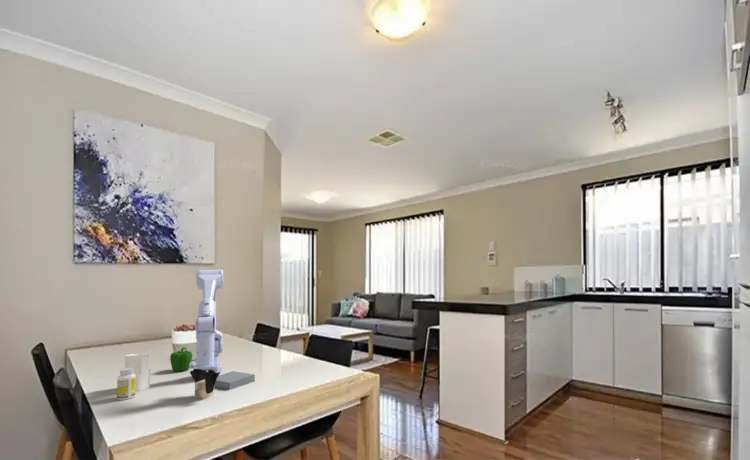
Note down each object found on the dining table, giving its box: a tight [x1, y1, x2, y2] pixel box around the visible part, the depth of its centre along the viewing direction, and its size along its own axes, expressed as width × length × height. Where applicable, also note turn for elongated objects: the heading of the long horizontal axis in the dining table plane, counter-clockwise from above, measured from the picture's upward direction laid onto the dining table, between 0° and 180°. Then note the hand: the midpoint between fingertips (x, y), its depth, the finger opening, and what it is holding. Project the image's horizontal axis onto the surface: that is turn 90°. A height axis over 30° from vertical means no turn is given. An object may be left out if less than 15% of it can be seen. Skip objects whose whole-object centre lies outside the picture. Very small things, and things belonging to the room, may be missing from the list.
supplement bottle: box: [116, 367, 136, 401], centre depth 139 cm, size 5×5×10 cm
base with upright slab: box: [124, 353, 151, 393], centre depth 150 cm, size 9×9×12 cm
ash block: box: [194, 380, 216, 400], centre depth 138 cm, size 4×4×5 cm
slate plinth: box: [215, 370, 256, 390], centre depth 153 cm, size 12×12×2 cm
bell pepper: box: [169, 346, 193, 372], centre depth 174 cm, size 8×8×10 cm
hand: (204, 391), depth 138 cm, fingers closed on ash block, 4 cm apart
